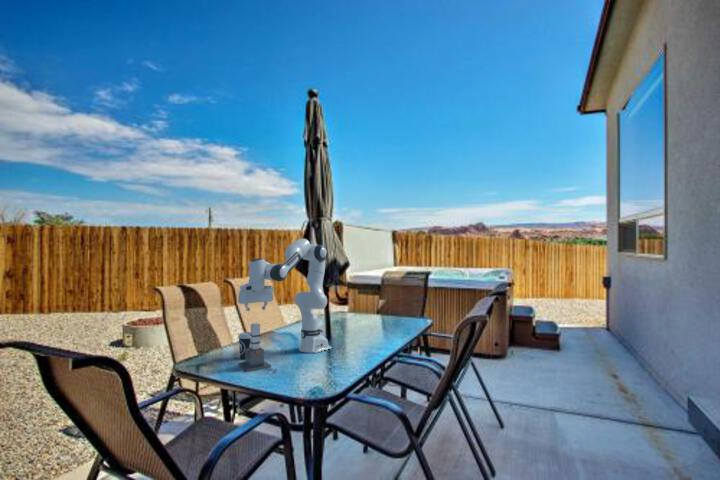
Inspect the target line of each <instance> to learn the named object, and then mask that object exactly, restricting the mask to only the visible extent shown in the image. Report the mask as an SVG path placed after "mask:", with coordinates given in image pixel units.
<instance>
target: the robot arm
mask: <svg viewBox="0 0 720 480" xmlns="http://www.w3.org/2000/svg"><path fill="white" fill-rule="evenodd" d="M327 255H328V249H327V247H326V246H325V245H323V244H317V243H316V244H315V243H310V241H309V240H308V239H307V238H300V239H298V240H295V241H294V242H292V243H290V244H289V245H288V246H287V247H286V248H285V251H284V256H285V258H286V260H285V261H284V262H282V263H270V262H268V261H266V260H265V259H264V258H262V257H258V258H256V257H255V258H253V259H251V260H250V262H249V268H248V276H249V277H248V278H249V279H248V283H245V284H242V285H240V286H239V289H240V290H239V292H238V296H237V303H239V304H243V305H244V307H245V311H246V312H250V310H251V308H250V307H249V306H248V305H249V304H255V303H263V306H261V310H262V311H265V310H266V307H267V305H268V303H269V302H273V301H274V287H273V286H272V285H265V283H266V282H265V280H268V281H275V282H282V281H284V280H285V279H286V278H287V277H288V275H289V274H290V272H291V271H292V269H294V268H295V266H296V265H298V264H299V263H300V262H301V260H304V261H310V265H309V268H308V274H307V277H306V284H307V285H308V287H309V291H299V292H297V293H296V294H295V297H294V303H295V306H297V307H298V310H299V311H300V315H301V328H300V338H301V339H300V344H299V347H298V351H300V352H302V353H312V354H313V353H314V354H318V352H319V353H322V352H325V351H324V350H326V351H329V350H328V349H330V350H332V349H331V348H333V347H332V346H331V345H330V344H329V341H328V339H327V338H326V337H325V336H323V335H322V334H321V333H323V332H324V330H323V329H321V328H319V316H318V315H317V314H316V313H315V310H323V309H325V308H326V306H327V304H328V298H327V295H325V293H324V288H323V286H324V285H323V283H324V277H325V273H326V272H325V270H326V258H327ZM321 351H322V352H321Z"/></svg>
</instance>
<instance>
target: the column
mask: <svg viewBox="0 0 720 480" xmlns="http://www.w3.org/2000/svg"><path fill="white" fill-rule="evenodd" d="M250 332H251V334H250V350H251V351H255V350H260V348H261V345H260V344H261V339H260V338H261V324H260V323H258V322H257V323H255V322H254V323H250Z"/></svg>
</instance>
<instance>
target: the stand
mask: <svg viewBox="0 0 720 480" xmlns="http://www.w3.org/2000/svg"><path fill="white" fill-rule="evenodd" d="M237 366H238V367H239V368H240V369H242V370H244V372H246V373H249V372H255V371H260V370H265V369H271V368H272V364H270V363H268V362H267V361H265V349H264V348H262V347H260V350H255V351H251V350H250V348H245V360H244V361H241V362H238V363H237Z"/></svg>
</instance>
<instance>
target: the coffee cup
mask: <svg viewBox="0 0 720 480" xmlns="http://www.w3.org/2000/svg"><path fill="white" fill-rule="evenodd" d="M250 334H251V331H248V332H247V331H246V332H245V331H244V332H240V333H239V335H238V337H237V338H238V347H239V359H240V360H244V361H245V348H250Z"/></svg>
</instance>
